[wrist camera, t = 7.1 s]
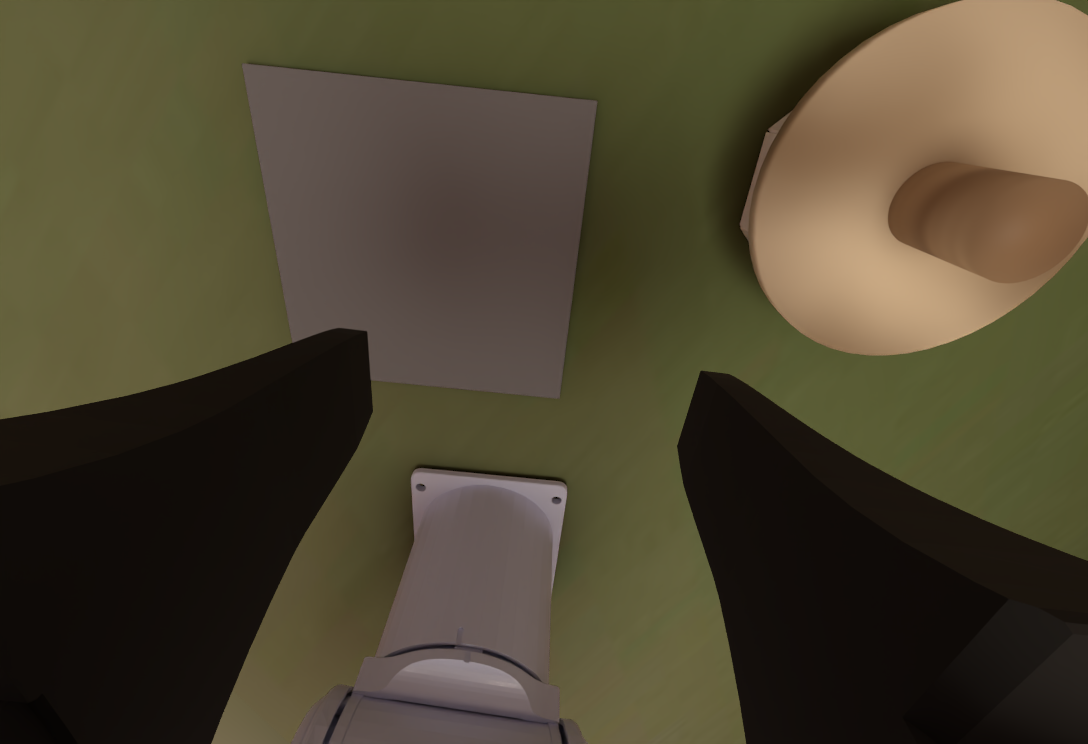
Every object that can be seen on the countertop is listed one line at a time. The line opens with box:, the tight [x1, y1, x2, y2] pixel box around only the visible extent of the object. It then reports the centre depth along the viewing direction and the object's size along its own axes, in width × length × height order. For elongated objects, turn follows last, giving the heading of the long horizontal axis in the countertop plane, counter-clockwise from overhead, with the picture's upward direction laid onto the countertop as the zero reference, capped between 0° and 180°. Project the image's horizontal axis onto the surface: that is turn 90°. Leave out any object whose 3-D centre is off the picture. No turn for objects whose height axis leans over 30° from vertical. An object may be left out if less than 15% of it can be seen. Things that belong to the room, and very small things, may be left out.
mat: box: [242, 63, 597, 399], centre depth 19 cm, size 12×12×1 cm
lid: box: [748, 0, 1088, 355], centre depth 13 cm, size 10×10×4 cm
